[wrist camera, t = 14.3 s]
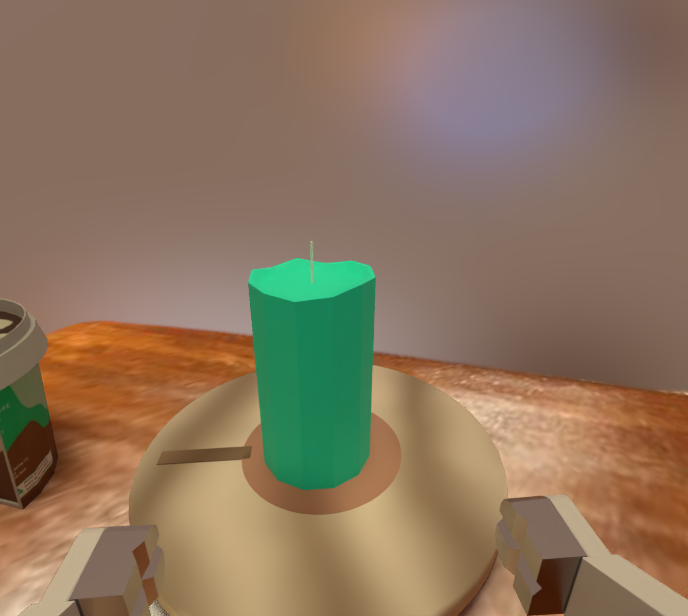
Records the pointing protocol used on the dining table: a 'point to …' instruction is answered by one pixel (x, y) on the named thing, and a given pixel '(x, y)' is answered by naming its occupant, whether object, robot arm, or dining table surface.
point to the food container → (23, 409)
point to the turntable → (323, 511)
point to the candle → (314, 368)
